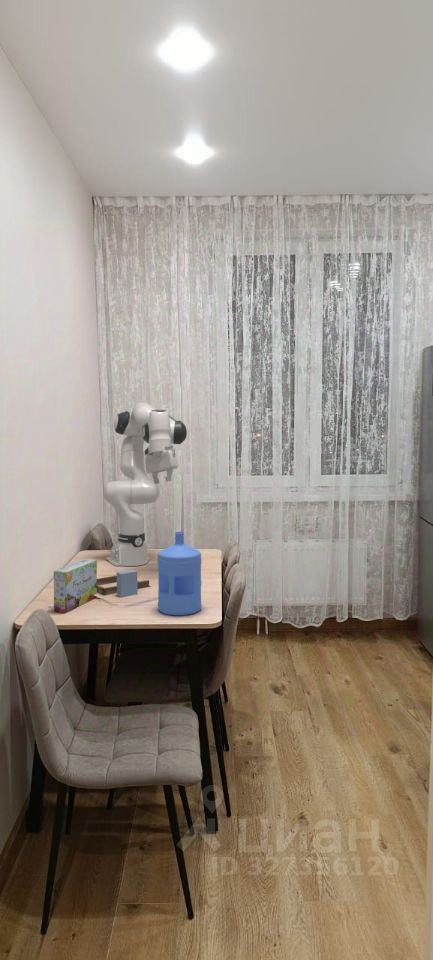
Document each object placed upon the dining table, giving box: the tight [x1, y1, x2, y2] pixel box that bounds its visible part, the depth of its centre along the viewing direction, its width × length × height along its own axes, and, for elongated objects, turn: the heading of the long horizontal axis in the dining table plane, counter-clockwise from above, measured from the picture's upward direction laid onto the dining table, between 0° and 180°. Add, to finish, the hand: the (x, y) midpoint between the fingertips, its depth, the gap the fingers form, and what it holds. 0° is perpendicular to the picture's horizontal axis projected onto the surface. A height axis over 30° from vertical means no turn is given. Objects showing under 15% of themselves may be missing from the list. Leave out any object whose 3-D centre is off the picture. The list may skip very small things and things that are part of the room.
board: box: [116, 569, 139, 598], centre depth 243 cm, size 4×7×10 cm, turn 128°
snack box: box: [53, 558, 98, 614], centre depth 236 cm, size 21×6×15 cm, turn 160°
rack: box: [97, 574, 152, 600], centre depth 255 cm, size 15×21×4 cm
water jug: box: [157, 531, 202, 616], centre depth 229 cm, size 16×16×28 cm
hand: (162, 482), depth 259 cm, fingers open, 8 cm apart
